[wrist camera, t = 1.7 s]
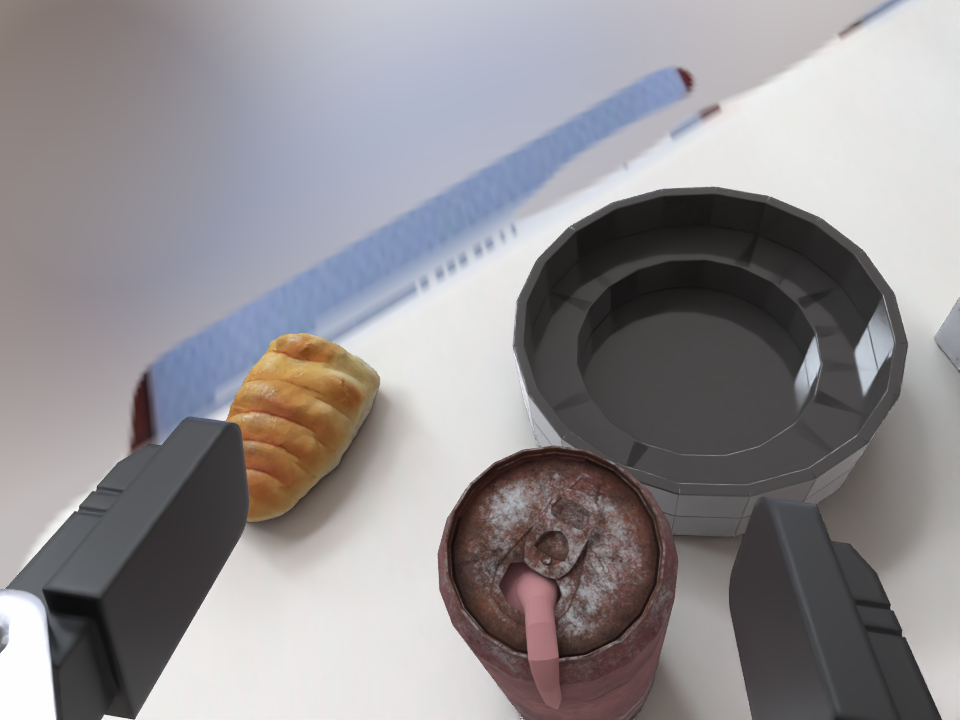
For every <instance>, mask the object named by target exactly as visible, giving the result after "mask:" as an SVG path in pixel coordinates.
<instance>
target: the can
mask: <svg viewBox="0 0 960 720" xmlns="http://www.w3.org/2000/svg"><path fill="white" fill-rule="evenodd" d="M677 567H678V557H677V553H676V548H675V544H674V540H673V536H672V531H671V527H670V523H669V521H668V520H667V518H666V516H665V515H664V513H663V511H662V510H661V508H660V507H659V505H658V503H657V502H656V500H655V498H654V497H653V495H652V493H651V492H650V491H649V490H648V489H647V488H646V487H645V486H643V485H642V484H641V483H640V482H639V481H638V480H637V479H636V478H634V477H633V476H632V475H631V474H630V473H629V472H628V471H627V470H625V469H624V468H623V467H621V466H618V465H617V464H616V463H614V462H612V461H609V460H607V459H605V458H603V457H601V456H599V455H596V454H594V453H592V452H590V451H588V450H583V449H577V448H570V447H563V446H556V445H553V446H546V447H539V448H532V449H525V450H521V451H519V452H517V453H515V454H512V455H510V456H508V457H506V458H504V459H501V460H499V461H497V462H495V463H493V464H492V465H491V466H490V467H489V468H487V469H486V470H485V471H484V472H483V473H482V474H480V475H479V476H478V477H477V478H476V479H475V480H474V481H472V482H471V483H470V484H469V486H468V487H467V489H466V490H465V491H464V493H463V494H462V496H461V497H460V499H459V501H458V502H457V504H456V505H455V507H454V509H453V510H452V512H451V513H450V515H449V516H448V518H447V521H446V524H445V528H444V532H443V535H442V539H441V543H440V547H439V550H438V570H439V590H440V593H441V595H442V598H443V600H444V603H445V606H446V608H447V611H448V614H449V616H450V619H451V621H452V624H453V626H454V627H455V629H456V630H457V631H458V633H459V634H460V635H461V637H462V638H463V639H464V641H465V642H466V643H467V645H468V646H469V647H470V649H471V650H472V651H473V653H474V654H475V655H476V657H477V658H478V659H479V661H480V662H481V663H482V665H483V666H484V667H485V669H486V670H487V671H488V673H489V674H490V675H491V676H492V678H493V679H494V680H495V682H496V683H497V684H498V686H499V687H500V688H501V690H502V691H503V692H504V694H505V695H506V696H507V698H508V699H509V700H510V702H511V703H512V704H513V705H514V707H515V708H516V709H517V710H518V712H519V713H520V714H521V715H522V717H523V718H524V719H525V720H632V719H633V718H634V717H635V716H636V715H637V714H638V713H639V712H640V711H641V709H642V707H643V705H644V703H645V700H646V698H647V696H648V694H649V691H650V689H651V687H652V684H653V680H654V676H655V672H656V668H657V664H658V661H659V657H660V653H661V649H662V645H663V641H664V637H665V633H666V629H667V626H668V622H669V618H670V614H671V610H672V606H673V602H674V598H675V588H676V578H677Z"/></svg>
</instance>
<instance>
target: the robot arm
mask: <svg viewBox="0 0 960 720" xmlns="http://www.w3.org/2000/svg"><path fill="white" fill-rule="evenodd" d="M248 511H249V489H248V481H247V473H246V464H245V456H244V448H243V440H242V433H241V429H240V427H239V425H238V424H237V423H234V422H226V421H219V420H212V419H204V418H197V417H187V418H185V419H184V420H183V421H182V422H181V423H180V424H179V425H178V426H177V428H176V429H175V430H174V431H173V432H172V434H171V435H170V436H169V437H168V438H167V440H166V441H165V442H164V443H163V444H162V445H155V444H148V445H146V446H145V447H143V448H141V449H140V450H138V451H136V452H135V453H133V454H131V455H130V456H128V457H127V458H125V459H123V460H122V461H120V462H118V463H117V464H116V466H115V467H114V468H113V469H112V470H111V471H110V472H109V473H108V474H107V476H106V477H105V478H104V479H103V480H102V481H101V482H100V483H99V485H98V486H97V490H96V492H95V491H92V492H91V494H90V495H89V496H88V497H87V498H86V499H85V500H84V501H83V503H82V504H81V505H80V506H79V510H78V512H76V511H74V513H73V514H72V515H71V516H70V517H69V518H68V519H67V520H66V522H65V523H64V524H63V525H62V526H61V527H60V528H59V529H58V531H57V532H56V533H55V534H54V535H53V536H52V537H51V538H50V540H49V541H48V542H47V543H46V544H45V545H44V546H43V547H42V549H41V550H40V551H39V552H38V553H37V554H36V555H35V556H34V557H33V559H32V560H31V561H30V562H29V563H28V564H27V565H26V566H25V568H24V569H23V570H22V571H21V572H20V573H19V574H18V575H17V577H16V578H15V579H14V580H13V581H12V582H11V583H10V584H9V586H7V587H6V588H5V589H1V590H0V720H101V719H102V717H103V716H104V714H105V715H111V716H117V717H122V718H128V719H134V720H135V718H136V716H137V714H138V713H139V711H140V709H141V708H142V706H143V704H144V702H145V701H146V699H147V697H148V696H149V694H150V692H151V690H152V689H153V687H154V685H155V683H156V682H157V680H158V678H159V677H160V675H161V673H162V671H163V670H164V668H165V666H166V664H167V663H168V661H169V659H170V658H171V656H172V654H173V652H174V651H175V649H176V647H177V645H178V644H179V642H180V640H181V639H182V637H183V635H184V633H185V632H186V630H187V628H188V627H189V625H190V623H191V621H192V620H193V618H194V616H195V614H196V613H197V611H198V609H199V608H200V606H201V604H202V602H203V601H204V599H205V597H206V595H207V594H208V592H209V590H210V589H211V587H212V585H213V583H214V582H215V580H216V578H217V577H218V575H219V573H220V571H221V570H222V568H223V566H224V564H225V563H226V561H227V559H228V558H229V556H230V554H231V552H232V551H233V549H234V547H235V545H236V544H237V542H238V540H239V539H240V537H241V535H242V533H243V530H244V527H245V525H246V521H247V517H248ZM729 605H730V613H731V618H732V623H733V627H734V632H735V637H736V642H737V647H738V652H739V657H740V662H741V666H742V671H743V676H744V681H745V686H746V691H747V696H748V701H749V705H750V710H751V715H752V720H942V719H941V716H940V714H939V712H938V710H937V707H936V705H935V703H934V701H933V699H932V696H931V694H930V692H929V690H928V687H927V685H926V683H925V681H924V678H923V676H922V674H921V672H920V669H919V667H918V665H917V663H916V660H915V658H914V656H913V654H912V651H911V649H910V647H909V645H908V642H907V640H906V638H905V637H902V629H901V627H900V624H899V622H898V620H897V618H896V616H895V613H894V611H891V610H890V605H891V604H890V602H889V600H888V598H887V595H886V593H885V591H884V589H883V586H882V584H881V582H880V580H879V577H878V575H877V573H876V572H875V571H874V570H873V569H872V568H871V566H870V565H869V564H868V563H867V562H866V561H865V560H864V559H863V558H862V557H861V556H860V555H859V553H858V552H857V551H856V550H855V549H854V548H853V547H852V546H851V545H850V544H846V543H839V542H832V541H831V540H830V537H829V535H828V532H827V530H826V527H825V525H824V522H823V519H822V517H821V514H820V512H819V510H818V508H817V507H816V505H814V504H812V503H806V502H799V501H791V500H784V499H777V498H769V497H760V498H758V500H757V501H756V503H755V505H754V507H753V510H752V513H751V516H750V519H749V522H748V525H747V528H746V531H745V533H744V536H743V539H742V542H741V545H740V548H739V551H738V554H737V557H736V560H735V563H734V565H733V569H732V573H731V578H730V586H729Z"/></svg>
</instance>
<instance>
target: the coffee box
mask: <svg viewBox="0 0 960 720" xmlns="http://www.w3.org/2000/svg"><path fill="white" fill-rule="evenodd" d="M935 341H936V342H937V343H938V345H939V346H940V347H941V348H942V350H943V351H944V352H945V353H946V355H947V356H948V357H949V358H950V360H951V361H952V362H953V364H954V365H955V366H956V367H957V369H958V370H959V371H960V297H959V299H958V300H957V302H956V304H955V305H954V307H953V308H952V310H951V312H950V314H949V315H948V317H947V318H946V320H945V321H944V323H943V324H942V326H941V327H940V329H939V330H938V332H937V334H936V335H935Z"/></svg>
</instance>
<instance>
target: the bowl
mask: <svg viewBox="0 0 960 720" xmlns="http://www.w3.org/2000/svg"><path fill="white" fill-rule="evenodd" d="M907 348H908V342H907V339H906V335H905V331H904V327H903V323H902V320H901V316H900V312H899V308H898V304H897V301H896V297H895V294H894V292H893V291H892V289H891V288H890V287H889V285H888V284H887V282H886V281H885V280H884V278H883V277H882V275H881V274H880V273H879V271H878V270H877V268H876V267H875V266H874V264H873V263H872V261H871V260H870V259H869V257H868V256H867V254H866V253H865V252H864V251H863V250H862V249H861V248H860V247H858V246H857V245H856V244H854V243H853V242H852V241H851V240H849V239H848V238H847V237H845V236H844V235H843V234H841V233H840V232H839V231H837V230H836V229H835V228H833V227H832V226H831V225H830V224H828V223H827V222H826V221H824V220H823V219H822V218H820V217H818V216H815V215H813V214H810V213H808V212H806V211H803V210H801V209H799V208H796V207H794V206H792V205H789V204H787V203H784V202H782V201H780V200H777V199H775V198H773V197H769V196H765V195H760V194H754V193H748V192H743V191H737V190H731V189H726V188H720V187H695V188H672V189H662V190H661V189H660V190H656V191H653V192H649V193H645V194H642V195H638V196H634V197H631V198H627V199H623V200H620V201H616V202H613V203H610V204H609V205H607V206H605V207H603V208H602V209H600V210H598V211H596V212H594V213H593V214H591V215H589V216H587V217H585V218H584V219H582V220H580V221H578V222H577V223H575V224H573V225H571V226H570V227H568V228H567V229H566V230H565V231H564V232H563V233H562V234H561V235H560V237H559V238H558V239H557V240H556V241H555V242H554V243H553V244H552V245H551V246H550V247H549V248H548V249H547V250H546V251H545V252H544V253H543V254H542V255H541V256H540V257H539V258H538V259H537V260H536V262H535V264H534V266H533V268H532V270H531V272H530V274H529V276H528V278H527V281H526V283H525V285H524V287H523V289H522V291H521V293H520V295H519V297H518V299H517V302H516V314H515V326H514V338H513V350H514V355H515V360H516V365H517V370H518V375H519V380H520V385H521V390H522V395H523V399H524V402H525V405H526V409H527V412H528V415H529V419H530V422H531V425H532V429H533V432H534V435H535V439H536V440H537V442H538V444H539V445H540V446H541V447H546V446H553V445H556V446H563V447H570V448H577V449H583V450H588V451H590V452H592V453H594V454H596V455H599V456H601V457H603V458H605V459H607V460H609V461H612V462H614V463H616V464H617V465H618V466H621V467H623V468H624V469H625V470H627V471H628V472H629V473H630V474H631V475H632V476H633V477H634V478H636V479H637V480H638V481H639V482H640V483H641V484H642V485H643V486H645V487H646V488H647V489H648V490H649V491H650V492H651V493H652V495H653V497H654V498H655V500H656V502H657V503H658V505H659V507H660V508H661V510H662V511H663V513H664V515H665V516H666V518H667V520H668V521H669V523H670V527H671V531H672V534H673V535H698V536H724V537H733V536H738V535H742V534H744V533H745V531H746V528H747V525H748V522H749V519H750V516H751V513H752V510H753V507H754V505H755V503H756V501H757V500H758V498H760V497H769V498H777V499H784V500H791V501H799V502H806V503H812V504H814V505H816V504H818V503H819V502H821V501H822V500H824V499H825V498H827V497H828V496H830V495H831V494H832V493H834V492H835V491H837V490H838V489H839V488H840V487H841V485H842V484H843V482H844V481H845V479H846V478H847V476H848V475H849V473H850V472H851V470H852V469H853V467H854V466H855V464H856V463H857V461H858V460H859V458H860V457H861V455H862V454H863V452H864V451H865V449H866V448H867V446H868V445H869V443H870V441H871V440H872V438H873V437H874V435H875V434H876V432H877V431H878V429H879V428H880V426H881V425H882V423H883V421H884V420H885V418H886V417H887V415H888V414H889V412H890V411H891V409H892V408H893V406H894V405H895V403H896V401H897V400H898V398H899V396H900V392H901V385H902V379H903V373H904V367H905V360H906V354H907Z"/></svg>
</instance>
